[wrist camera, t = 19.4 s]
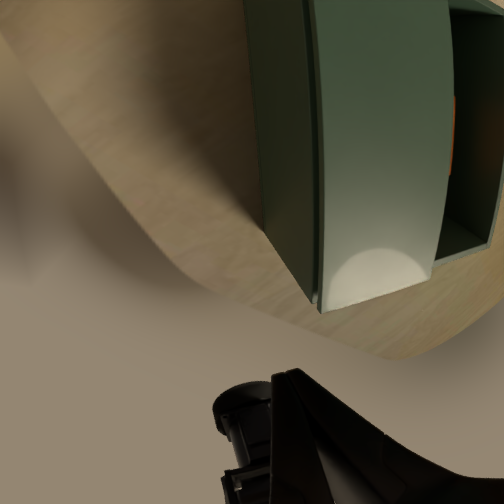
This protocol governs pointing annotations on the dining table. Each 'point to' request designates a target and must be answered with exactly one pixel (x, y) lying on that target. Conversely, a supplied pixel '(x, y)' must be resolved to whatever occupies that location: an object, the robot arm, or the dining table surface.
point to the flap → (380, 143)
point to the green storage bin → (306, 131)
